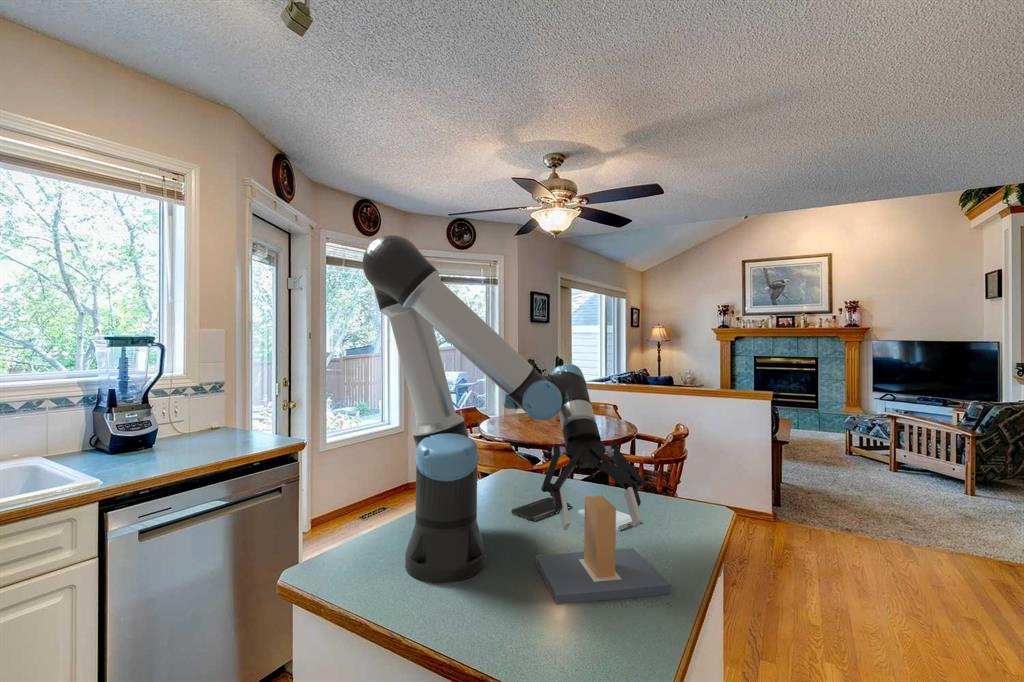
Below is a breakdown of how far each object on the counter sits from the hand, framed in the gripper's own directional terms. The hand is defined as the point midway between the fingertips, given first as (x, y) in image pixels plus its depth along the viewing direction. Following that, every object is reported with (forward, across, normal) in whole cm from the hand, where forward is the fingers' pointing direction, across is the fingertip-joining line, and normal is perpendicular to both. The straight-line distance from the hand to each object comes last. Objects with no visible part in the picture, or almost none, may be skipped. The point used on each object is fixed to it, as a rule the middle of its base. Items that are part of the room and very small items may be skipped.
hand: (602, 525), depth 82 cm
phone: (-16, +3, -31) cm, 35 cm away
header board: (+7, +1, -6) cm, 9 cm away
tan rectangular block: (+6, +1, -5) cm, 8 cm away
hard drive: (-11, -12, -26) cm, 30 cm away
